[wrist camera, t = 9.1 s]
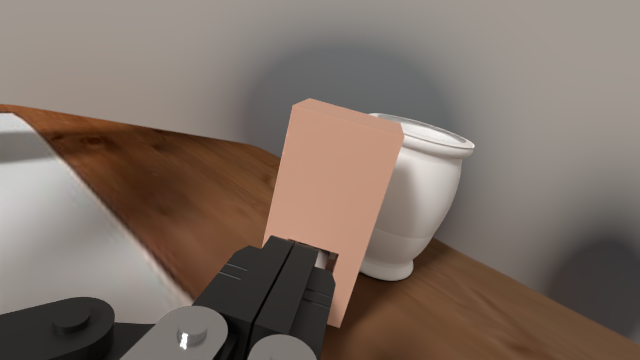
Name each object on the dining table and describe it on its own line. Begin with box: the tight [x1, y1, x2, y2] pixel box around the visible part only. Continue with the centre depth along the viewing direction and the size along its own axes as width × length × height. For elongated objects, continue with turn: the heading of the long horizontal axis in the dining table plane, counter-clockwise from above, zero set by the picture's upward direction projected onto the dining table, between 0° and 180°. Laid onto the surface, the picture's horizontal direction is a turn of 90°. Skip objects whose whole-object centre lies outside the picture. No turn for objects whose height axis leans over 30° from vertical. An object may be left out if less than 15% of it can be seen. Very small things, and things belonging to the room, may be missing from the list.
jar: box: [359, 113, 475, 281], centre depth 36 cm, size 11×10×15 cm
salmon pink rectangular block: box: [262, 98, 405, 328], centre depth 25 cm, size 5×7×14 cm
